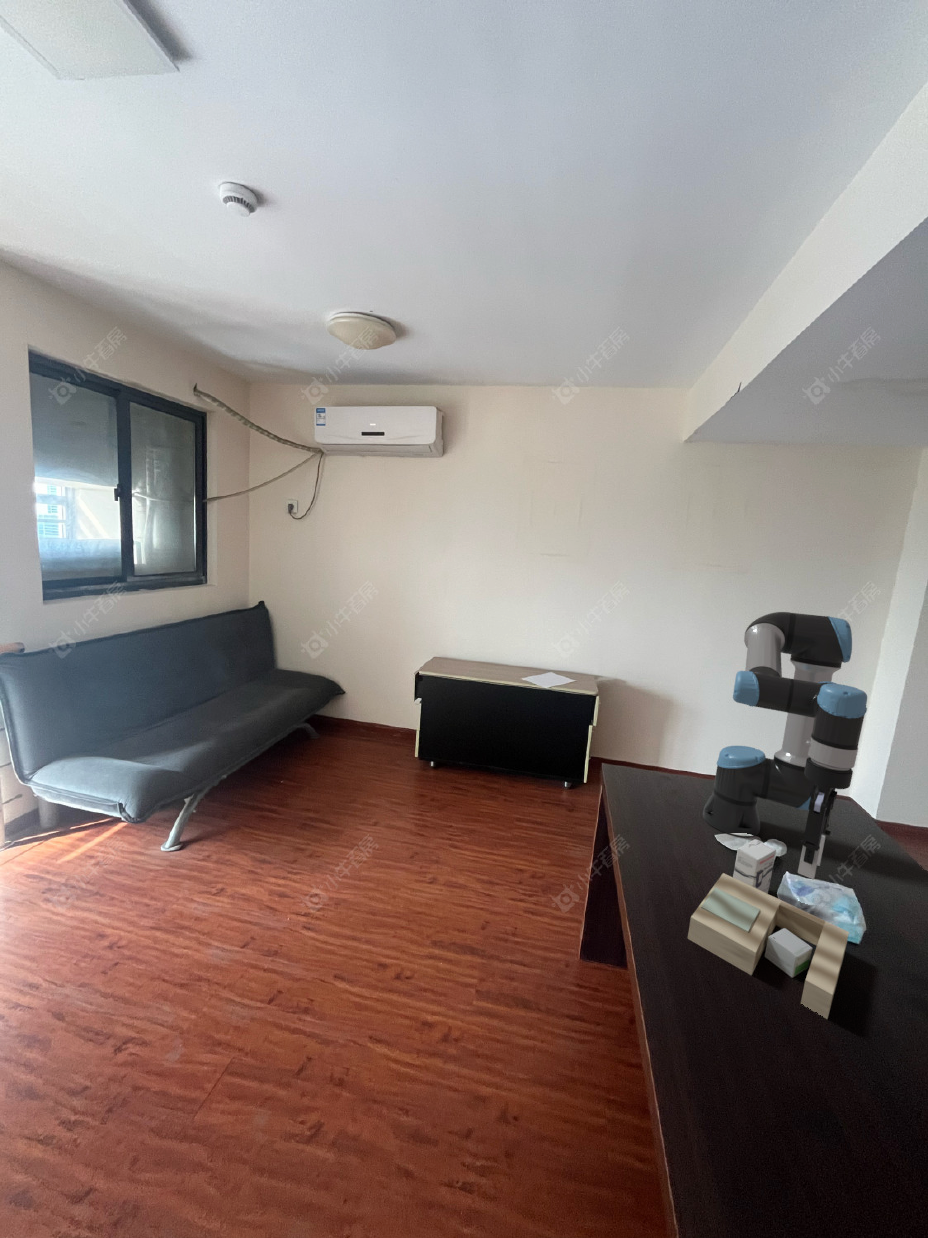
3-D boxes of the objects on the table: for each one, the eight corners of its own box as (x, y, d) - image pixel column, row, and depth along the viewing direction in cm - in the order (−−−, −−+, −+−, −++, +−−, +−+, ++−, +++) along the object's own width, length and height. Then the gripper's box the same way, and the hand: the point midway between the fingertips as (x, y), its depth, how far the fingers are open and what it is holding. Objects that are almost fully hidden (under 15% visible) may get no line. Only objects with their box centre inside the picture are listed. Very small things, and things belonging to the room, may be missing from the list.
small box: (792, 979, 96) (797, 957, 95) (763, 956, 101) (767, 935, 100) (809, 969, 98) (813, 947, 97) (780, 947, 103) (784, 926, 102)
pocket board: (720, 892, 119) (723, 871, 118) (844, 953, 103) (849, 930, 102) (687, 938, 104) (691, 915, 103) (827, 1019, 88) (832, 993, 87)
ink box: (750, 906, 115) (758, 859, 113) (729, 893, 119) (736, 847, 117) (768, 894, 119) (777, 849, 118) (747, 881, 123) (755, 838, 122)
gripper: (815, 744, 108) (797, 842, 112) (797, 769, 95) (777, 879, 98) (859, 756, 103) (838, 858, 107) (846, 784, 90) (823, 900, 93)
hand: (809, 868), depth 102 cm, fingers open, 6 cm apart
